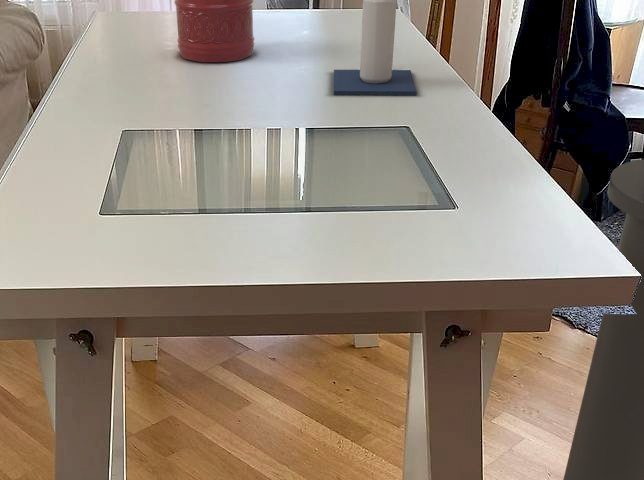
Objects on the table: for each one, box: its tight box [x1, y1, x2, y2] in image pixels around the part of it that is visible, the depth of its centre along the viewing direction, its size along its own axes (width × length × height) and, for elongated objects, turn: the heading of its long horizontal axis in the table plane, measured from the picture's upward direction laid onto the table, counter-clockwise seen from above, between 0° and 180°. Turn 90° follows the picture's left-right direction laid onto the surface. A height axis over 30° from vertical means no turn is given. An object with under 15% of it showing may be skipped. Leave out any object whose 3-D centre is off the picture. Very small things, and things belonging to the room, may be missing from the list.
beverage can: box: [359, 0, 397, 84], centre depth 123 cm, size 5×5×12 cm
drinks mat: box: [333, 69, 418, 96], centre depth 127 cm, size 12×12×1 cm
